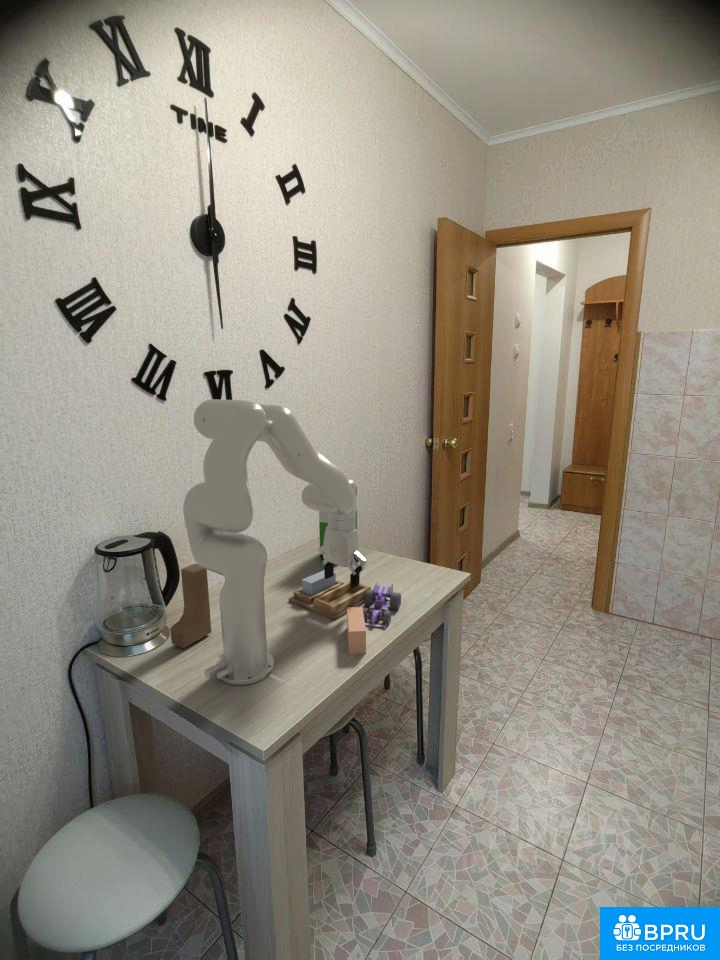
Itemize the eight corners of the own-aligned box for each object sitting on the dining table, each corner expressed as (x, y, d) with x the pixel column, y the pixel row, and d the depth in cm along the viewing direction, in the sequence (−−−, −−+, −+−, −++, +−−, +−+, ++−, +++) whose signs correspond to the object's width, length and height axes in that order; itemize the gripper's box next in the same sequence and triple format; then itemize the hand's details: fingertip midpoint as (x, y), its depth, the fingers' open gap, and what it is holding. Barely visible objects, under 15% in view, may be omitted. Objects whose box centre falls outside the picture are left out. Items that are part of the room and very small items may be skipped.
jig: (334, 620, 131) (334, 608, 130) (288, 601, 142) (288, 589, 142) (373, 598, 144) (373, 587, 143) (328, 582, 155) (328, 571, 154)
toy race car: (354, 627, 128) (354, 604, 127) (368, 602, 142) (368, 581, 141) (390, 632, 126) (390, 608, 124) (401, 605, 140) (401, 584, 139)
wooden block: (183, 649, 118) (177, 579, 114) (170, 643, 120) (164, 575, 116) (212, 632, 125) (207, 566, 121) (200, 627, 128) (194, 562, 124)
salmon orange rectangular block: (366, 654, 116) (366, 630, 115) (349, 654, 116) (348, 631, 114) (362, 628, 128) (362, 606, 126) (347, 628, 127) (346, 607, 126)
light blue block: (311, 599, 141) (311, 583, 140) (302, 595, 144) (301, 579, 143) (335, 588, 149) (335, 572, 147) (326, 584, 151) (326, 569, 150)
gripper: (309, 520, 138) (310, 577, 141) (357, 532, 127) (356, 594, 130) (328, 515, 143) (328, 570, 147) (375, 526, 132) (374, 586, 136)
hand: (341, 581), depth 138 cm, fingers open, 9 cm apart
